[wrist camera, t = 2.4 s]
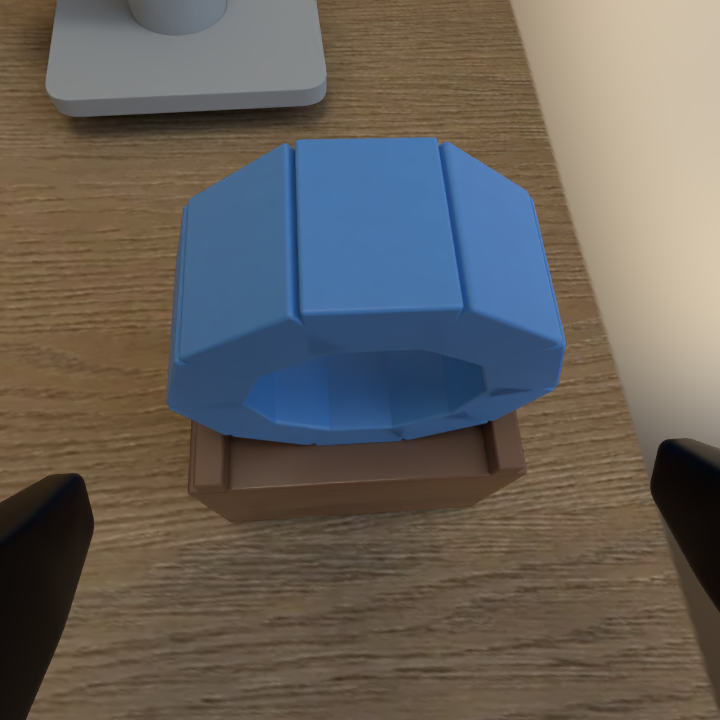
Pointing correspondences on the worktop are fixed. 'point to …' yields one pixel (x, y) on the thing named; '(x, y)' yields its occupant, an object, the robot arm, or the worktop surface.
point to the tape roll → (361, 296)
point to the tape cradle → (352, 472)
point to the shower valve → (184, 56)
